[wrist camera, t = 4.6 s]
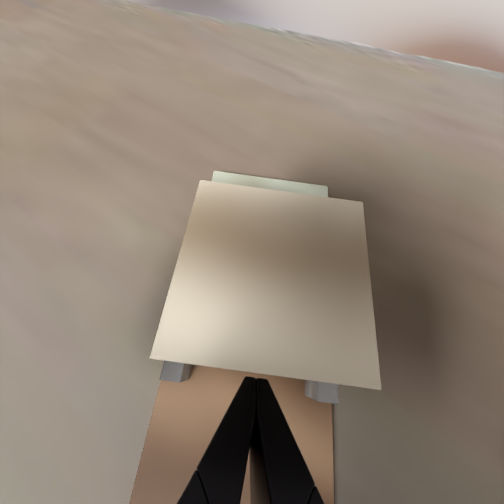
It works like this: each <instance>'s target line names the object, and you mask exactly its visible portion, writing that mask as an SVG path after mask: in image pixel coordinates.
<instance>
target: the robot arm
mask: <svg viewBox="0 0 504 504" xmlns="http://www.w3.org/2000/svg"><path fill="white" fill-rule="evenodd" d="M248 455H249V463H250V503H251V504H324V502H323V499H322V497H321V495H320V493H319V491H318V488H317V487H316V486H315V482H314V480H313V478H312V475H311V473H310V471H309V469H308V467H307V464H306V462H305V460H304V458H303V456H302V453H301V451H300V449H299V447H298V445H297V442H296V440H295V438H294V436H293V434H292V431H291V429H290V427H289V425H288V423H287V420H286V418H285V416H284V414H283V412H282V409H281V407H280V405H279V403H278V401H277V398H276V396H275V394H274V392H273V390H272V388H271V385H270V383H269V381H268V380H267V379H264V378H257V379H256V378H255V377H249V376H245V377H244V379H243V381H242V383H241V385H240V387H239V389H238V390H237V392H236V394H235V396H234V398H233V400H232V402H231V404H230V406H229V407H228V409H227V411H226V413H225V415H224V417H223V419H222V421H221V422H220V424H219V426H218V428H217V430H216V432H215V434H214V436H213V438H212V439H211V441H210V443H209V445H208V447H207V449H206V451H205V453H204V455H203V456H202V458H201V460H200V462H199V464H198V466H197V468H196V470H195V471H194V473H193V475H192V477H191V479H190V481H189V483H188V484H187V486H186V488H185V490H184V491H183V493H182V495H181V497H180V499H179V500H178V502H177V504H240V501H241V496H242V490H243V484H244V478H245V472H246V467H247V461H248Z"/></svg>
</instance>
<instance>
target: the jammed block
mask: <svg viewBox="0 0 504 504" xmlns="http://www.w3.org/2000/svg"><path fill="white" fill-rule="evenodd" d="M150 359H157V360H164V361H172V362H179V363H186V364H194V365H201V366H208V367H216V368H223V369H230V370H238V371H245V372H252V373H260V374H267V375H274V376H282V377H289V378H296V379H304V380H311V381H318V382H326V383H333V384H340V385H348V386H355V387H362V388H370V389H377V390H381V380H380V369H379V359H378V349H377V339H376V329H375V319H374V309H373V299H372V289H371V279H370V269H369V259H368V249H367V238H366V228H365V218H364V208H363V202H359V201H352V200H344V199H337V198H330V197H322V196H315V195H308V194H300V193H293V192H286V191H278V190H271V189H264V188H256V187H249V186H241V185H234V184H227V183H219V182H212V181H205V180H200V182H199V186H198V189H197V193H196V196H195V200H194V203H193V207H192V210H191V214H190V217H189V221H188V224H187V228H186V232H185V235H184V239H183V242H182V246H181V249H180V253H179V256H178V260H177V263H176V267H175V270H174V274H173V277H172V281H171V285H170V288H169V292H168V295H167V299H166V302H165V306H164V309H163V313H162V316H161V320H160V323H159V327H158V330H157V334H156V337H155V341H154V345H153V348H152V352H151V355H150Z"/></svg>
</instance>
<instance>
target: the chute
mask: <svg viewBox="0 0 504 504" xmlns="http://www.w3.org/2000/svg"><path fill="white" fill-rule="evenodd" d="M212 182H219V183H227V184H234V185H241V186H249V187H256V188H264V189H271V190H278V191H286V192H293V193H300V194H308V195H315V196H322V197H328V186H322V185H314V184H307V183H300V182H292V181H285V180H278V179H270V178H263V177H256V176H248V175H241V174H234V173H226V172H219V171H214V174H213V178H212ZM245 376H249V377H255V378H256V379H257V378H264V379H267V380H268V381H269V383H270V385H271V388H272V390H273V392H274V394H275V396H276V398H277V401H278V403H279V405H280V407H281V409H282V412H283V414H284V416H285V418H286V420H287V423H288V425H289V427H290V429H291V431H292V434H293V436H294V438H295V440H296V442H297V445H298V447H299V449H300V451H301V453H302V456H303V458H304V460H305V462H306V464H307V467H308V469H309V471H310V473H311V475H312V478H313V480H314V482H315V486H316V487H317V488H318V491H319V493H320V495H321V497H322V499H323V502H324V504H334V476H333V426H332V403H333V404H338V384H333V383H326V382H318V381H311V380H304V379H296V378H289V377H282V376H274V375H267V374H260V373H252V372H245V371H238V370H230V369H223V368H216V367H208V366H201V365H194V364H186V363H179V362H172V361H164V364H163V368H162V372H161V376H160V380H161V381H160V385H159V389H158V393H157V397H156V401H155V405H154V409H153V413H152V417H151V420H150V424H149V428H148V432H147V436H146V440H145V444H144V448H143V452H142V456H141V460H140V464H139V467H138V471H137V475H136V479H135V483H134V487H133V491H132V495H131V499H130V503H129V504H177V502H178V500H179V499H180V497H181V495H182V493H183V491H184V490H185V488H186V486H187V484H188V483H189V481H190V479H191V477H192V475H193V473H194V471H195V470H196V468H197V466H198V464H199V462H200V460H201V458H202V456H203V455H204V453H205V451H206V449H207V447H208V445H209V443H210V441H211V439H212V438H213V436H214V434H215V432H216V430H217V428H218V426H219V424H220V422H221V421H222V419H223V417H224V415H225V413H226V411H227V409H228V407H229V406H230V404H231V402H232V400H233V398H234V396H235V394H236V392H237V390H238V389H239V387H240V385H241V383H242V381H243V379H244V377H245ZM240 504H251V503H250V463H249V455H248V461H247V467H246V472H245V478H244V484H243V490H242V496H241V501H240Z"/></svg>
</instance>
